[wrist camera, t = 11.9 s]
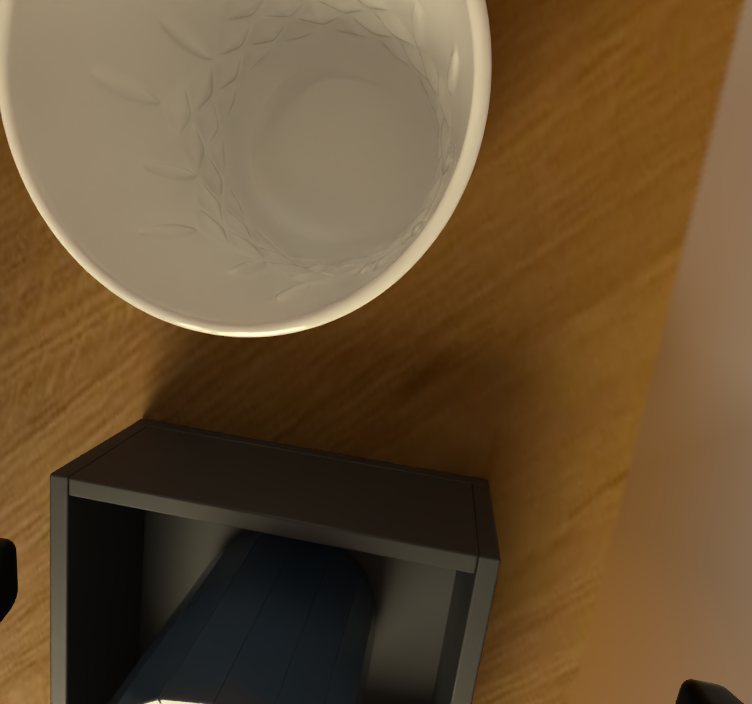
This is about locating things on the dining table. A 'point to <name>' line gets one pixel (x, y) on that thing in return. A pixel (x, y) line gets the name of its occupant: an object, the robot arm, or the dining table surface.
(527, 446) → the dining table surface
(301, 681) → the cup
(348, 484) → the tub
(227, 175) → the white cup
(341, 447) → the dining table surface
